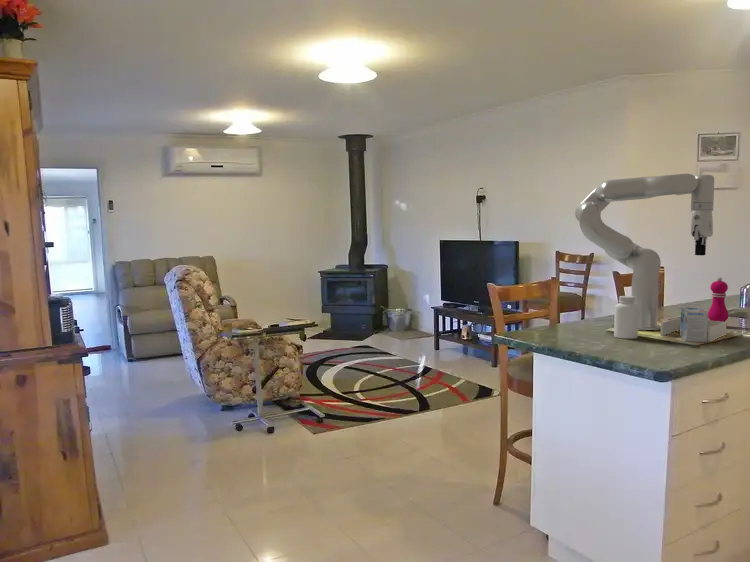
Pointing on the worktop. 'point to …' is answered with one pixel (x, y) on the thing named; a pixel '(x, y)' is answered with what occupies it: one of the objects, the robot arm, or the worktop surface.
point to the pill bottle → (626, 318)
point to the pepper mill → (718, 301)
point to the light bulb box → (694, 324)
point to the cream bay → (713, 328)
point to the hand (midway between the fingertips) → (700, 255)
